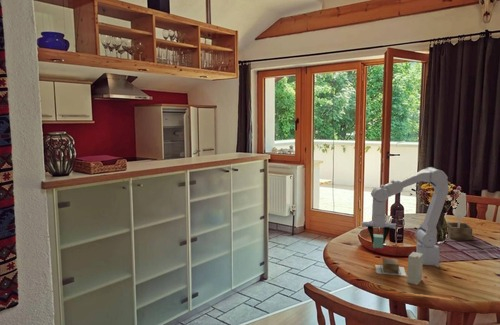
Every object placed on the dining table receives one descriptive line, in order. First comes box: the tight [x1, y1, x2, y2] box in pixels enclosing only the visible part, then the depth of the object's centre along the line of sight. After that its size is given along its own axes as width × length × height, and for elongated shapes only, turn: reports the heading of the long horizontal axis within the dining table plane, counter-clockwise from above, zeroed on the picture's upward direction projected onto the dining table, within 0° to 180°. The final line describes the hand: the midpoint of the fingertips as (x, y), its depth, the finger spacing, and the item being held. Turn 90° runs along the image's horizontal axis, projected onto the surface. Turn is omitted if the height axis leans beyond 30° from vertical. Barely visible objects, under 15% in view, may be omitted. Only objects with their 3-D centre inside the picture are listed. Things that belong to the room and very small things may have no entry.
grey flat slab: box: [374, 264, 407, 277], centre depth 166 cm, size 12×9×1 cm
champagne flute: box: [452, 192, 468, 228], centre depth 209 cm, size 7×7×24 cm
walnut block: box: [382, 257, 400, 274], centre depth 165 cm, size 6×6×4 cm
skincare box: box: [406, 251, 424, 286], centre depth 154 cm, size 6×4×12 cm
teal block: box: [372, 233, 384, 249], centre depth 174 cm, size 4×4×5 cm
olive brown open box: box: [445, 221, 473, 241], centre depth 210 cm, size 11×11×6 cm
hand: (378, 242), depth 174 cm, fingers closed on teal block, 4 cm apart
